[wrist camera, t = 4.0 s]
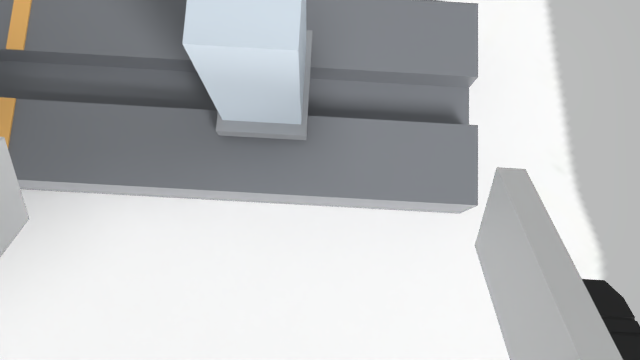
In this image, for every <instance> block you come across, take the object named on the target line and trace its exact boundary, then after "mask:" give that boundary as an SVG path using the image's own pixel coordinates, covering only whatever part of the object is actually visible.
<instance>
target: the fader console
mask: <svg viewBox="0 0 640 360" xmlns="http://www.w3.org/2000/svg"><path fill="white" fill-rule="evenodd" d="M186 4H187V0H0V137H4V138H5V141H6V144H7V148H8V151H9V154H10V157H11V161H12V164H13V167H14V170H15V174H16V177H17V180H18V184H19V187H20V189H30V190H48V191H66V192H84V193H102V194H120V195H138V196H156V197H174V198H192V199H210V200H228V201H246V202H264V203H282V204H300V205H318V206H336V207H354V208H372V209H390V210H408V211H426V212H444V213H462V212H464V211H466V210H469V209H471V208H473V207H475V206H477V205H478V125H469V87H470V86H471V85H472V83H473V82H474V81H475V80H476V79H477V77H478V4H476V3H460V2H443V1H427V0H306V30H312V52H311V69H310V86H309V103H308V120H307V137H306V140H291V139H274V138H256V137H239V136H221V135H218V133H217V132H216V124H217V113H218V111H217V109H216V107H215V105H214V103H213V101H212V99H211V97H210V95H209V94H208V92H207V90H206V88H205V86H204V84H203V82H202V80H201V78H200V76H199V75H198V73H197V71H196V69H195V67H194V65H193V63H192V61H191V59H190V57H189V56H188V54H187V52H186V50H185V48H184V46H183V44H182V42H183V33H184V23H185V14H186Z"/></svg>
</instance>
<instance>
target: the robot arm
mask: <svg viewBox="0 0 640 360" xmlns="http://www.w3.org/2000/svg"><path fill="white" fill-rule="evenodd" d="M28 219H29V216H28V213H27V210H26V206H25V203H24V200H23V197H22V193H21V190H20V187H19V184H18V180H17V177H16V174H15V170H14V167H13V164H12V161H11V157H10V154H9V151H8V148H7V144H6V141H5V138H4V137H0V257H1V256H2V254H3V253H4V252H5V250H6V249H7V248H8V246H9V245H10V244H11V242H12V241H13V240H14V238H15V237H16V236H17V234H18V233H19V232H20V230H21V229H22V228H23V226H24V225H25V224H26V222H27V221H28ZM475 248H476V251H477V254H478V257H479V261H480V264H481V267H482V270H483V274H484V277H485V280H486V283H487V287H488V290H489V293H490V296H491V299H492V303H493V306H494V309H495V312H496V316H497V319H498V322H499V325H500V329H501V332H502V335H503V338H504V341H505V345H506V348H507V351H508V354H509V358H510V360H640V326H639V324H638V322H637V321H635V320H634V318H635V317H634V315H633V314H632V312H631V310H630V308H629V307H628V305H627V303H626V302H625V300H624V298H623V297H622V296H621V295H620V294H619V293H618V292H616V291H615V290H614V289H613V288H612V287H611V286H610V285H609V284H608V283H607V282H606V281H604V280H588V279H581V277H580V275H579V273H578V271H577V269H576V267H575V265H574V263H573V261H572V259H571V257H570V255H569V253H568V251H567V249H566V248H565V246H564V244H563V242H562V240H561V238H560V236H559V234H558V232H557V230H556V228H555V226H554V224H553V222H552V220H551V218H550V216H549V214H548V212H547V210H546V208H545V207H544V205H543V203H542V201H541V199H540V197H539V195H538V193H537V191H536V189H535V187H534V185H533V183H532V181H531V179H530V177H529V175H528V173H527V171H526V169H514V168H498V167H497V169H496V172H495V176H494V179H493V183H492V186H491V190H490V194H489V197H488V201H487V204H486V208H485V211H484V215H483V218H482V222H481V226H480V229H479V233H478V236H477V240H476V243H475Z"/></svg>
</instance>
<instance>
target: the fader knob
mask: <svg viewBox="0 0 640 360" xmlns="http://www.w3.org/2000/svg"><path fill="white" fill-rule="evenodd" d="M182 44H183V46H184V48H185V50H186V52H187V54H188V56H189V57H190V59H191V61H192V63H193V65H194V67H195V69H196V71H197V73H198V75H199V76H200V78H201V80H202V82H203V84H204V86H205V88H206V90H207V92H208V94H209V95H210V97H211V99H212V101H213V103H214V105H215V107H216V109H217V111H218V113H217V124H216V132H217V133H218V135H221V136H239V137H256V138H274V139H291V140H306V137H307V120H308V103H309V86H310V69H311V52H312V30H306V0H187V4H186V14H185V23H184V33H183V42H182Z"/></svg>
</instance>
